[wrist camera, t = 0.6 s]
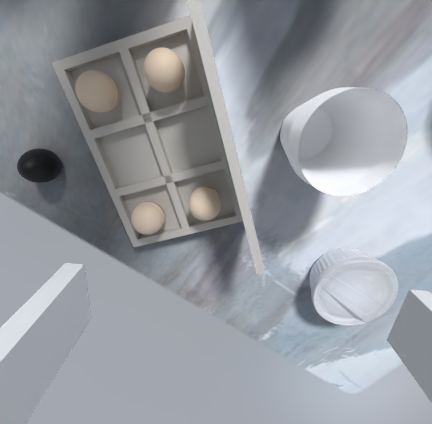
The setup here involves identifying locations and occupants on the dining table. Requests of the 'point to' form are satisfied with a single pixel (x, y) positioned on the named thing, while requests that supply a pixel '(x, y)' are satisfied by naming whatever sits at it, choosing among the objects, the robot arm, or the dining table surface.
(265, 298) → the dining table surface
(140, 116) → the carton
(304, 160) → the cup
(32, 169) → the egg
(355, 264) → the ramekin
